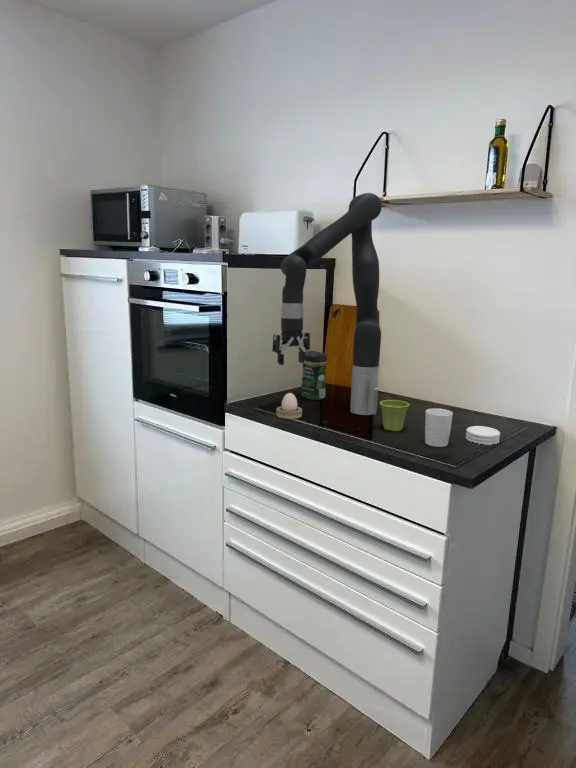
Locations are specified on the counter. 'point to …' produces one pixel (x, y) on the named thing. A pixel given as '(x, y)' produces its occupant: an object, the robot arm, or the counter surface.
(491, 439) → the white jar lid
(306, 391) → the coffee jar
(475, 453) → the counter surface
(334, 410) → the counter surface
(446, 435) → the white cup
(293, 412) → the egg holder
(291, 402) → the egg
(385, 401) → the plant pot
